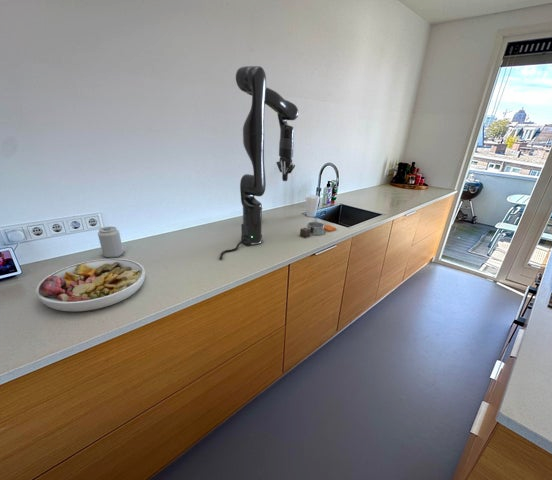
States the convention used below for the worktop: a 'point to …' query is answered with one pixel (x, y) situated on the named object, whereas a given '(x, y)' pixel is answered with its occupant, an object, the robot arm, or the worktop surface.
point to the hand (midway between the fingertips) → (284, 180)
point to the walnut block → (305, 232)
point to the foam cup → (311, 205)
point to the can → (110, 242)
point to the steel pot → (316, 228)
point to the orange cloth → (329, 228)
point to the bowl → (91, 284)
